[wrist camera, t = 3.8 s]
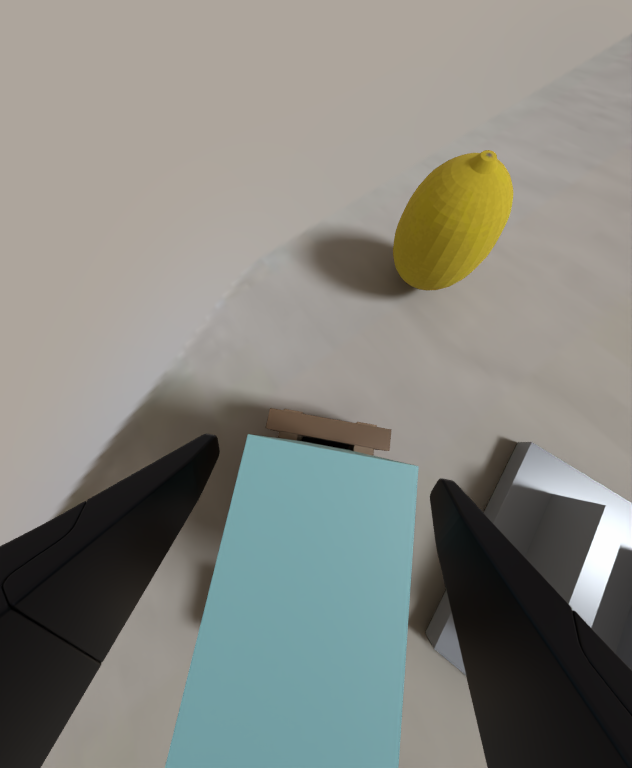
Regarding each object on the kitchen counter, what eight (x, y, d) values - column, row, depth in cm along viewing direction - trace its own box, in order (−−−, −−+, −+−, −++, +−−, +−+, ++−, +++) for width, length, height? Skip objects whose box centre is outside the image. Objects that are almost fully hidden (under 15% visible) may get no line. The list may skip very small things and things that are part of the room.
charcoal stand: (621, 793, 11) (763, 959, 7) (425, 632, 12) (464, 704, 9) (691, 549, 13) (824, 587, 9) (517, 442, 14) (577, 441, 11)
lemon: (366, 286, 18) (400, 163, 10) (406, 240, 19) (466, 95, 11) (428, 326, 17) (519, 224, 9) (467, 275, 18) (579, 143, 10)
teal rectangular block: (333, 517, 14) (388, 913, 2) (293, 508, 14) (147, 834, 2) (343, 448, 15) (418, 465, 3) (306, 441, 15) (247, 434, 3)
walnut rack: (359, 552, 13) (374, 596, 9) (259, 530, 14) (233, 563, 10) (373, 430, 15) (391, 425, 11) (284, 414, 15) (271, 404, 12)
